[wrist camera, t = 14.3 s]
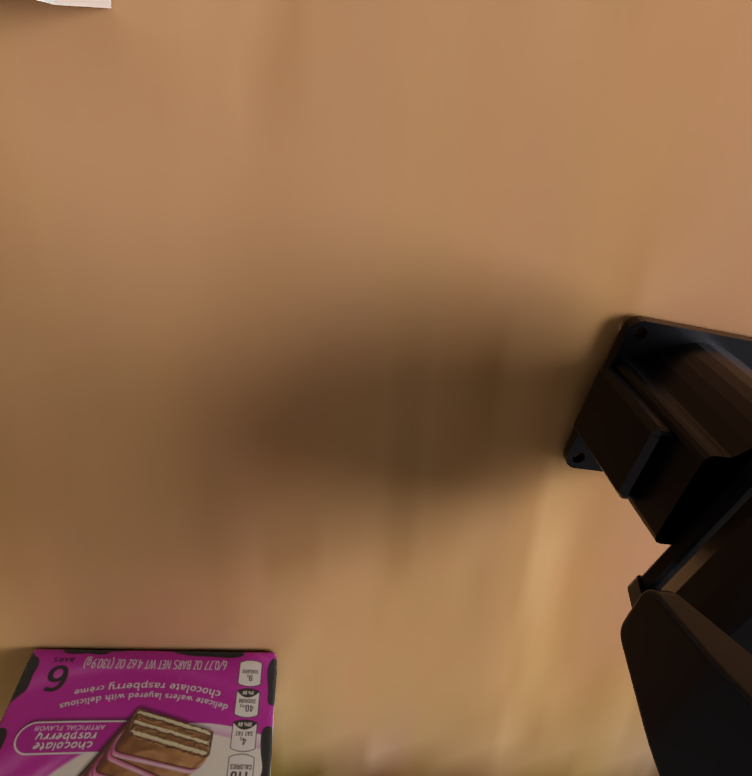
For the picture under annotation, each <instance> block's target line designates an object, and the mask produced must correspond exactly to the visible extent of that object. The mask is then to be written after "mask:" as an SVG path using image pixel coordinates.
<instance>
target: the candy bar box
mask: <svg viewBox="0 0 752 776" xmlns="http://www.w3.org/2000/svg"><path fill="white" fill-rule="evenodd" d="M276 665H277V660H276V653H272V652H197V651H118V650H69V649H35V650H34V651H33V653H32V655H31V657H30V660H29V661H28V663H27V665H26V668H25V670H24V672H23V674H22V677H21V679H20V681H19V683H18V685H17V688H16V690H15V692H14V694H13V697H12V699H11V701H10V703H9V705H8V707H7V710H6V712H5V714H4V716H3V718H2V720H1V723H0V776H270V771H271V754H272V737H273V720H274V704H275V687H276V675H277V670H276Z"/></svg>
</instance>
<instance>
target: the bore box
mask: <svg viewBox="0 0 752 776" xmlns="http://www.w3.org/2000/svg"><path fill="white" fill-rule="evenodd" d="M38 1H42V2H46V3H50V4H54V5H65V6H81V7H97V8H111V0H38Z"/></svg>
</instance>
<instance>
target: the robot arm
mask: <svg viewBox="0 0 752 776" xmlns="http://www.w3.org/2000/svg"><path fill="white" fill-rule="evenodd" d="M638 328H642V329H641V331H640V333H639V334H637V335H633V333H634V332H635V330H636V329H638ZM577 453H580V454H579V455H578V456H576V457H573V456H574V455H575V454H577ZM563 457H564V459H565V461H566V462H567V464H568V465H569V466H570V467H573V468H580V469H587V470H595V471H603V472H604V473H605V475H606V476H607V478H608V479H609V481H610V482H611V484H612V485H613V487H614V488H615V490H616V492H617V493H618V495H619V496H620V497H621V498H623V499H628V500H629V502H630V503H631V505H632V506H633V508H634V509H635V511H636V512H637V514H638V515H639V517H640V518H641V520H642V521H643V523H644V524H645V526H646V527H647V528H648V530H649V531H650V533H651V534H652V536H653V537H654V539H655V540H656V542H658V543H660V544H670V546H669V548H668V549H667V550H666V551H665V552H664V553H663V554H662V555H661V556H660V557H659V558H658V559H657V560H656V561H655V563H654V564H653V565H652V566H651V567H650V568H649V569H648V570H647V571H646V572H645V573H644V574H643V575H642V576H640V575H638V576H637V577H636V578H635V579H634V580H633V581H632V582H631V584H630V585H629V586H628V593H629V597H630V601H631V606H632V609H631V611H630V613H629V614H628V616H627V617H626V619H625V620H624V622H623V624H622V627H621V642H622V646H623V650H624V653H625V657H626V661H627V665H628V669H629V672H630V676H631V680H632V684H633V688H634V691H635V695H636V699H637V703H638V707H639V711H640V714H641V718H642V722H643V726H644V729H645V733H646V736H647V740H648V743H649V746H650V749H651V752H652V755H653V758H654V761H655V764H656V767H657V770H658V772H659V775H660V776H752V338H751V337H746V336H741V335H735V334H730V333H725V332H720V331H715V330H709V329H704V328H699V327H694V326H688V325H683V324H678V323H673V322H668V321H662V320H657V319H652V318H647V317H641V316H636V317H633V318H630V319H629V320H628V321H626V322H625V324H624V325H623V327H622V329H621V331H620V333H619V335H618V337H617V339H616V341H615V343H614V345H613V347H612V350H611V352H610V354H609V356H608V358H607V360H606V362H605V364H604V366H603V368H602V370H601V371H600V372H599V373H598V375H597V377H596V379H595V381H594V384H593V386H592V388H591V390H590V392H589V394H588V396H587V398H586V400H585V402H584V405H583V407H582V409H581V411H580V413H579V415H578V417H577V419H576V421H575V424H574V429H573V432H572V434H571V436H570V438H569V440H568V442H567V444H566V446H565V448H564V451H563Z"/></svg>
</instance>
